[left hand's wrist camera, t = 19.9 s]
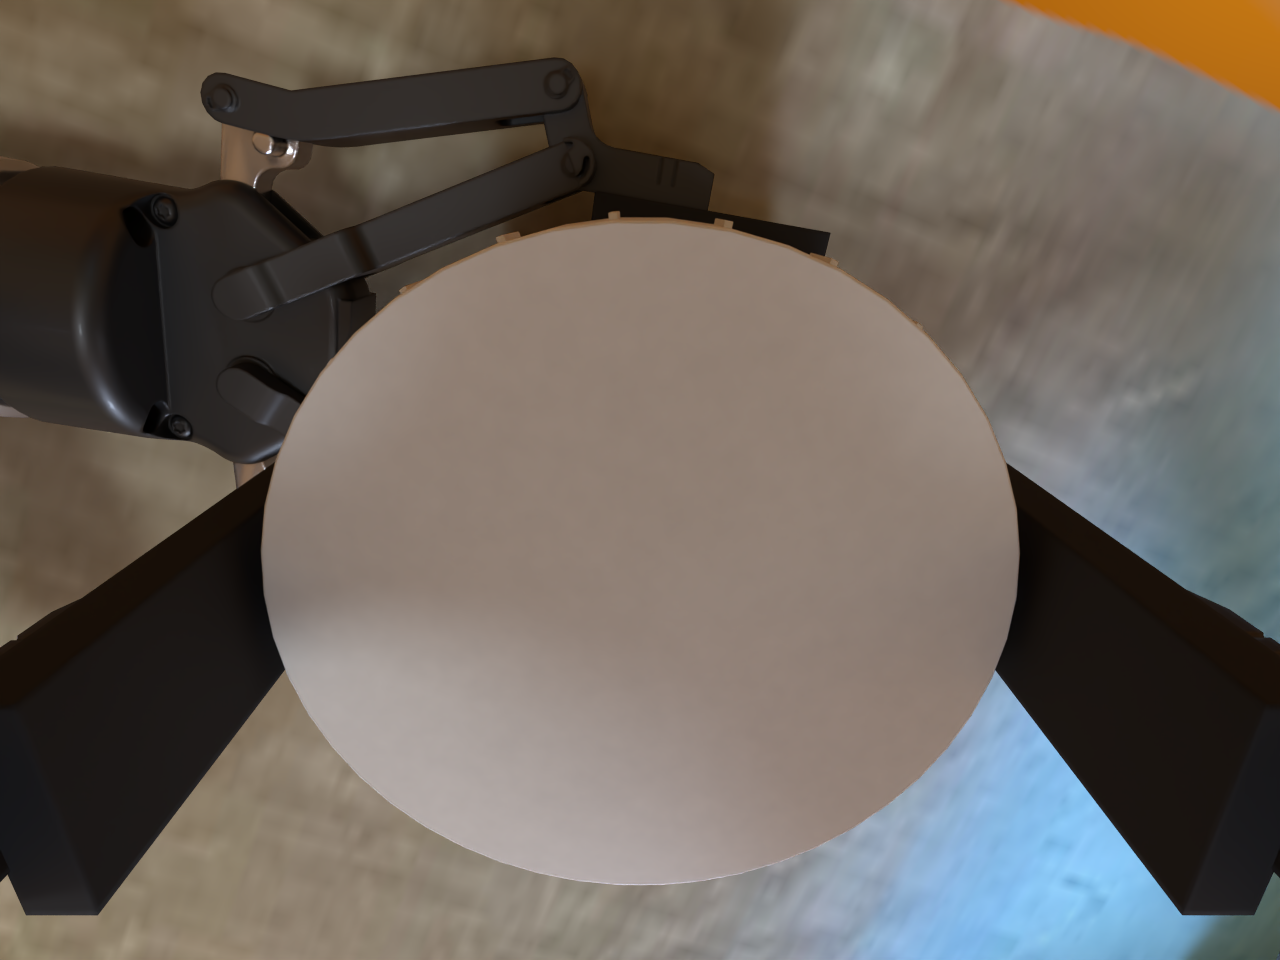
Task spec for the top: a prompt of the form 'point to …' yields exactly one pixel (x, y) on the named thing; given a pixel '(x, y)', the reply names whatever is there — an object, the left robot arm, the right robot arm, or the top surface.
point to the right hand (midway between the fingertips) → (773, 414)
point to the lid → (640, 551)
